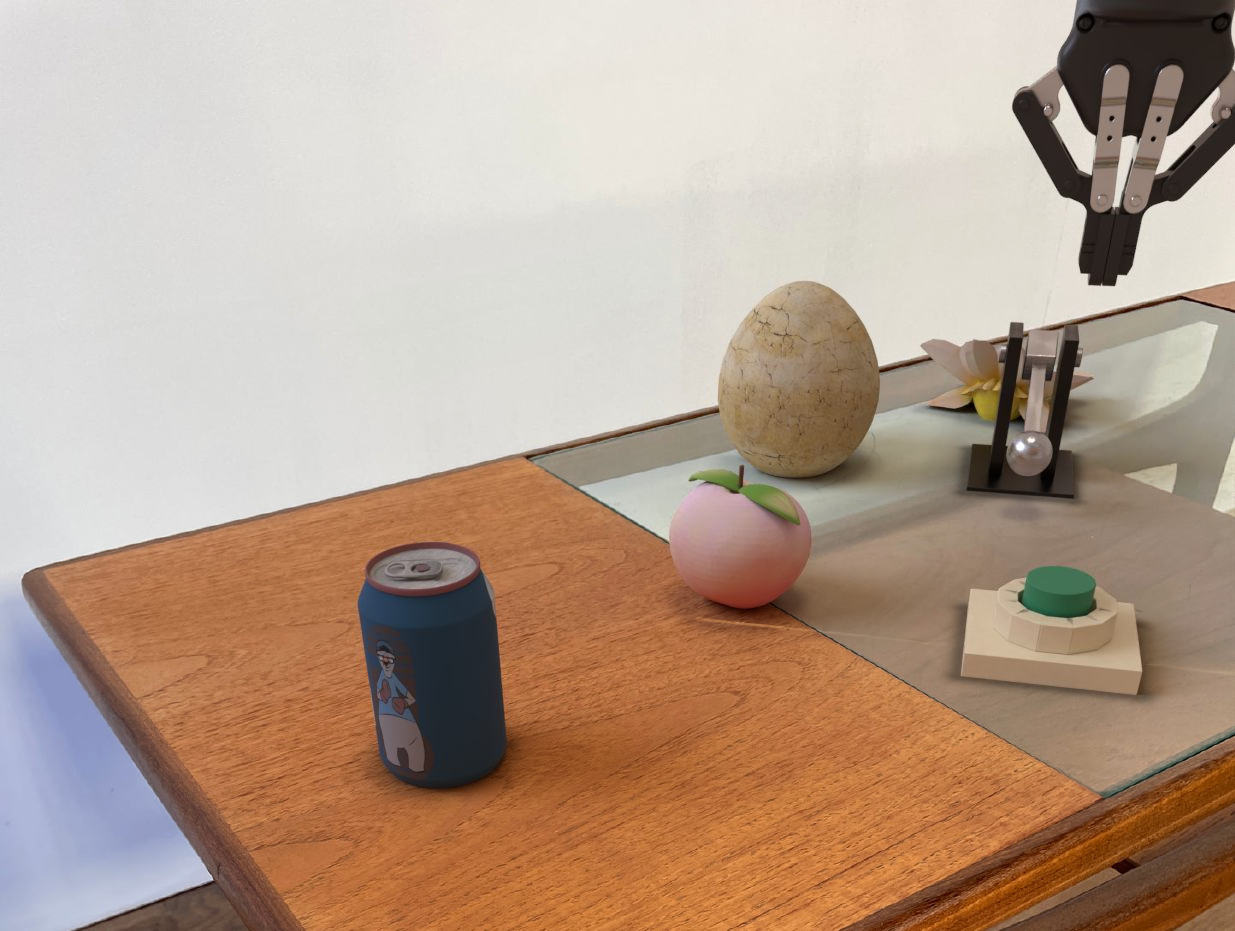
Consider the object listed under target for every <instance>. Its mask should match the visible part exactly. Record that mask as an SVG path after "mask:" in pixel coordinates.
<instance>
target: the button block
mask: <svg viewBox="0 0 1235 931" xmlns="http://www.w3.org/2000/svg"><path fill="white" fill-rule="evenodd" d="M1025 582H1026V577H1021V578H1020V577H1019V578H1015V579H1012V580H1010V581H1008V582H1007V583H1005V584H1003V585H1002V586H1000V587H999V588H998V590H991V589H980V588H970V591H969V598H968V603H967V612H966V622H965V632H964V643H963V649H962V660H961V670H960V677H966V678H975V679H984V680H985V679H986V680H993V681H1003V682H1012V683H1013V682H1014V683H1021V684H1032V685H1040V686H1047V687H1048V686H1050V687H1059V688H1068V689H1078V690H1085V691H1086V690H1087V691H1095V692H1103V693H1104V692H1105V693H1106V692H1107V693H1115V694H1122V695H1123V694H1124V695H1133V696H1137V695H1138V693H1139V692H1138V691H1139V687H1140V683H1141V680H1142V676H1143V665H1142V658H1141V648H1140V643H1139V634H1138V626H1137V619H1136V612H1135V611H1136V610H1135V604H1134V603H1131V602H1122V601H1121V602H1120V601H1118V600H1117V599H1116V598H1114V597H1113V596H1112V595H1110V593H1108V592H1106V591H1105V590H1104V589H1103V588H1101V587H1100V586H1098V585H1096V588H1095V593H1094V597H1093V602H1092V606H1091V611H1090V613H1089V614H1088V615H1087V616H1081V617H1075V618H1059V617H1049V616H1045V615H1042V614H1039V613H1036V612H1033V611H1030V610H1028V609H1027V608H1025V607H1024V606H1023V605H1022V598H1023V593H1024V587H1025Z"/></svg>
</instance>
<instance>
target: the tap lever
mask: <svg viewBox="0 0 1235 931" xmlns="http://www.w3.org/2000/svg"><path fill="white" fill-rule="evenodd" d="M1059 334H1060V331H1059V330H1045V329H1043V330H1042V329H1028V332H1027V337H1026V343H1025V349H1024V350H1025V354H1024V362H1023V370H1022V380H1029V388H1028V397H1027V406H1026V414H1025V420H1024V425H1023V431H1022V432H1020V433H1018V434H1016V435H1015V436H1014V437H1013V438H1012V439H1011V440H1010V442H1009V443H1008V445H1007V446H1008V448H1007V453H1006V457H1007V462H1008V465H1009V466H1010V468H1011V469H1012V470H1013V471H1014V472H1015V473H1017V474H1019V475H1022V476H1033V475H1036V474H1038V473H1040V472H1042V471H1043V470H1044V469H1045V468H1046V467H1047V466H1048V465H1049V463H1050V461H1051V458H1052V445H1051V442H1050V440H1049V439H1048V438H1047V436H1045V433H1044V432H1040V427H1041V417H1042V408H1043V398H1044V389H1045V381H1051V380H1052V375H1053V371H1054V370H1055V366H1056V360H1057V354H1058V342H1059Z"/></svg>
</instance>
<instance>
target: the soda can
mask: <svg viewBox="0 0 1235 931" xmlns="http://www.w3.org/2000/svg"><path fill="white" fill-rule="evenodd" d="M364 577H365V579H364V582H363V585H362V587H361V590H360V592H359V595H358V598H357V610H358V611H357V612H358V618H359V624H360V631H361V637H362V644H363V652H364V657H365V664H366V665H365V666H366V671H367V677H368V678H367V679H368V684H369V692H370V698H371V705H372V711H373V720H374V725H375V726H374V727H375V731H376V738H377V746H378V752H379V758H380V760H381V761H382V762H381V763H383V765H384V766H385V767H386V769H387V770H388V772H390V773H391V774H392V775H393V777H395V778H396V779H397V780H399V781H401V782H403V783H405V784H407V785H411V786H414V787H418V788H422V789H423V788H424V789H451V788H457V787H461V786H465V785H468V784H471V783H473V782H474V783H475V782H476V781H479V780H481V779H483V778H484V777H486V776H488V775H489V774H490V773H491V772H492V771H494V770H495V769H496V768H497V767H498V765H499V764H500V761H501V760H502V758H503V756H504V754H505V751H506V749H507V744H508V738H507V729H506V714H505V703H504V692H503V678H502V668H501V656H500V644H499V630H498V620H497V608H496V596H495V595H496V594H495V589H494V587H493V585H492V584H491V581H490V580H489V579H488V577H487V575H486V574H485V573H484V571H483V570H482V568H481V560H480V558H479V556H478V554H476V552H474V551H473V550H471V549H470V548H467V547H465V546H463V545H459V544H456V543H452V542H446V541H421V542H412V543H405V544H401V545H398V546H394V547H390V548H388V549H385V550H383V551H381V552H378V553H376V555H374V556H373V557H371V558H370V560H368V562H367V563H366V565H365V567H364Z"/></svg>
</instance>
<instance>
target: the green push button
mask: <svg viewBox="0 0 1235 931" xmlns="http://www.w3.org/2000/svg"><path fill="white" fill-rule="evenodd" d="M1025 578H1026V582H1025V587H1024V593H1023V598H1022V605H1023V606H1024V607H1025V608H1027V609H1028V610H1030V611H1033V612H1036V613H1039V614H1042V615H1045V616H1049V617H1059V618H1075V617H1081V616H1087V615H1088V614H1089V613H1090V611H1091V606H1092V602H1093V597H1094V593H1095V588H1096V586H1097V582H1096V579H1095V578H1094V577H1093V576H1092V575H1091V574H1089V573H1087V572H1085V571H1083V570H1080V569H1077V568H1074V567H1068V566H1061V565H1060V566H1059V565H1046V566H1045V565H1044V566H1040V567H1036V568H1034V569H1031V570H1030V571H1028V573H1027V574H1026V577H1025Z"/></svg>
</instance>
